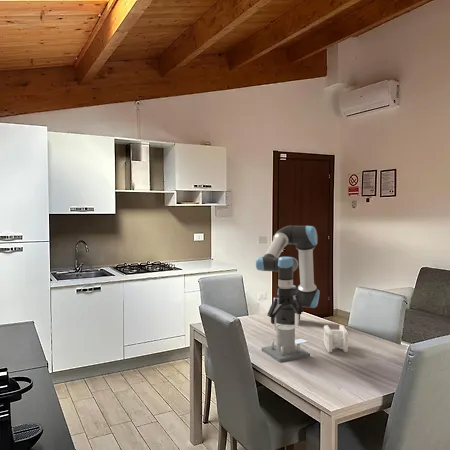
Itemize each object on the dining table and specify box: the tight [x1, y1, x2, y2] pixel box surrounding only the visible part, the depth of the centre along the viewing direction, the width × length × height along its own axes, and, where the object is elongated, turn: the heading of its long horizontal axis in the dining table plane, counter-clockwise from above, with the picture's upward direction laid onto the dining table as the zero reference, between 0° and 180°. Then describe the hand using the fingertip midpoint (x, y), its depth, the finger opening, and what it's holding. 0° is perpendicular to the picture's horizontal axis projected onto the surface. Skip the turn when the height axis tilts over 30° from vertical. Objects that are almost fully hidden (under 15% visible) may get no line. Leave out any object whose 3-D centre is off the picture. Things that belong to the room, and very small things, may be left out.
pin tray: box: [261, 340, 311, 363], centre depth 223 cm, size 18×18×6 cm
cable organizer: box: [323, 324, 349, 353], centre depth 229 cm, size 15×11×12 cm
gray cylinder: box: [275, 324, 296, 354], centre depth 223 cm, size 10×10×12 cm
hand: (285, 327), depth 223 cm, fingers open, 13 cm apart
